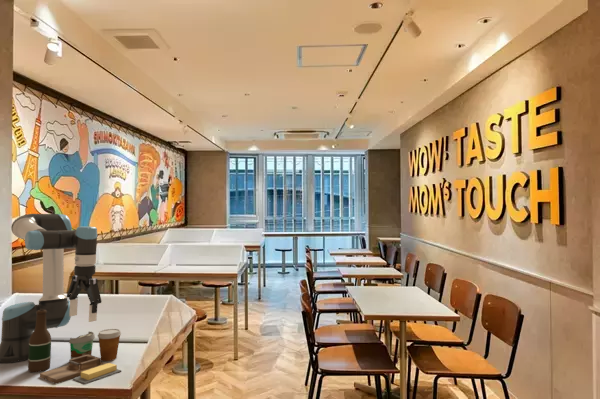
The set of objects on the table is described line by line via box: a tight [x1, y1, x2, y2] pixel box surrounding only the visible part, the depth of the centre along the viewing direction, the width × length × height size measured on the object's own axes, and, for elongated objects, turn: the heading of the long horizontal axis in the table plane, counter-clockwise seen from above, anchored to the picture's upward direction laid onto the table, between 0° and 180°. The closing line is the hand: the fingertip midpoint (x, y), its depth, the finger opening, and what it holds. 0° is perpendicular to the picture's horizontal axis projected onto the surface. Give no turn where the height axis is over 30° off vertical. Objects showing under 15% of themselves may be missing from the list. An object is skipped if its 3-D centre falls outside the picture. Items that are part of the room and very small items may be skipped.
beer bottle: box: [27, 310, 52, 374], centre depth 165 cm, size 8×8×24 cm
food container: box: [68, 331, 96, 359], centre depth 179 cm, size 12×6×10 cm, turn 168°
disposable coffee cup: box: [97, 328, 122, 362], centre depth 178 cm, size 10×10×12 cm
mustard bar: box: [81, 362, 118, 380], centre depth 159 cm, size 5×12×7 cm, turn 150°
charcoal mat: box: [72, 368, 122, 385], centre depth 158 cm, size 8×15×1 cm, turn 148°
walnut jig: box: [39, 354, 106, 384], centre depth 161 cm, size 12×20×4 cm, turn 148°
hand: (82, 318), depth 160 cm, fingers open, 13 cm apart
